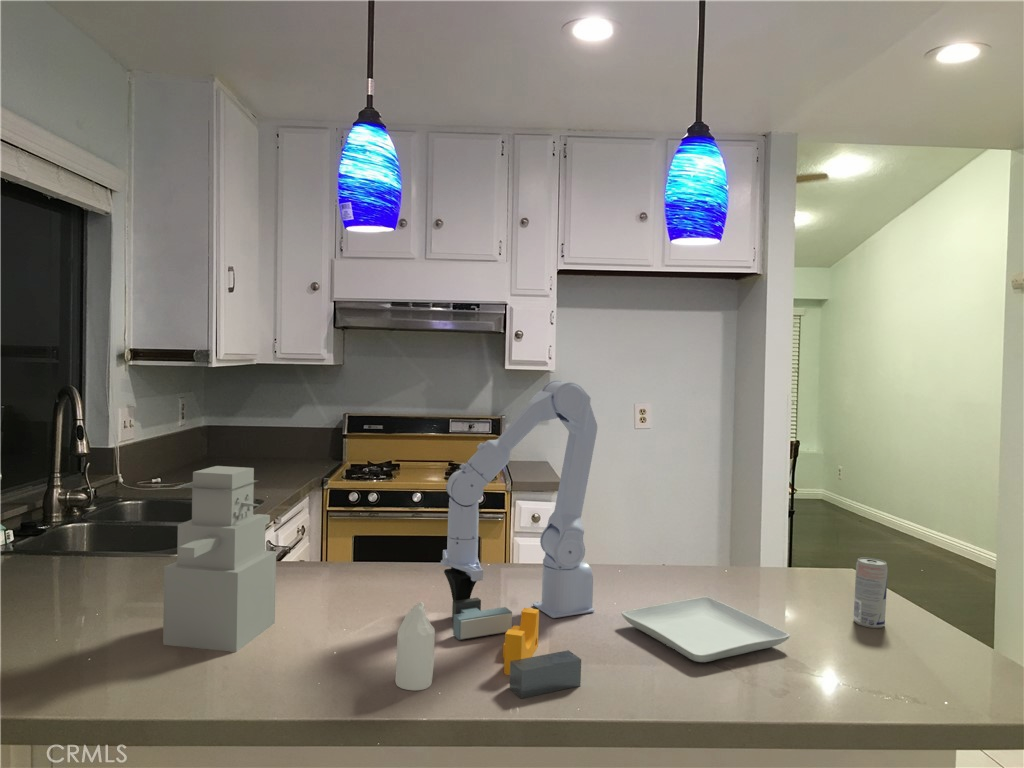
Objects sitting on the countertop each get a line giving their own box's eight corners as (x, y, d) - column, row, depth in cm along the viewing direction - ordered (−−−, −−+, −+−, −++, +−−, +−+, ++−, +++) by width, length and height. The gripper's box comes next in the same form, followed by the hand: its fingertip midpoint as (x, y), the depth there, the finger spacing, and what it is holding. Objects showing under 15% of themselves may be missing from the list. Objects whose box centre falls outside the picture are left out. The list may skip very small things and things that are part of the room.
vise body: (566, 674, 111) (567, 649, 111) (580, 685, 107) (581, 659, 107) (508, 686, 106) (509, 660, 106) (521, 698, 103) (521, 671, 102)
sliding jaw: (489, 614, 135) (489, 595, 135) (512, 632, 127) (513, 612, 126) (439, 621, 130) (439, 602, 130) (460, 640, 122) (460, 620, 122)
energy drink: (884, 621, 138) (887, 559, 138) (885, 630, 133) (888, 566, 133) (853, 616, 141) (856, 555, 140) (853, 625, 136) (856, 562, 135)
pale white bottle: (391, 598, 107) (425, 593, 110) (389, 678, 108) (423, 670, 111) (407, 611, 102) (443, 605, 105) (405, 694, 103) (440, 685, 106)
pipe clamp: (513, 644, 122) (514, 606, 122) (537, 647, 121) (539, 609, 121) (493, 673, 111) (494, 632, 111) (520, 677, 110) (521, 635, 109)
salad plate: (697, 675, 113) (698, 654, 113) (617, 628, 132) (618, 609, 132) (793, 653, 123) (794, 633, 122) (706, 612, 141) (706, 595, 141)
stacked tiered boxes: (139, 659, 112) (141, 479, 111) (223, 607, 135) (225, 458, 134) (216, 667, 110) (219, 484, 109) (288, 613, 133) (291, 462, 132)
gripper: (428, 528, 138) (426, 598, 139) (458, 547, 126) (456, 624, 126) (462, 525, 142) (460, 594, 142) (494, 544, 129) (492, 618, 129)
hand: (460, 608), depth 134 cm, fingers closed
